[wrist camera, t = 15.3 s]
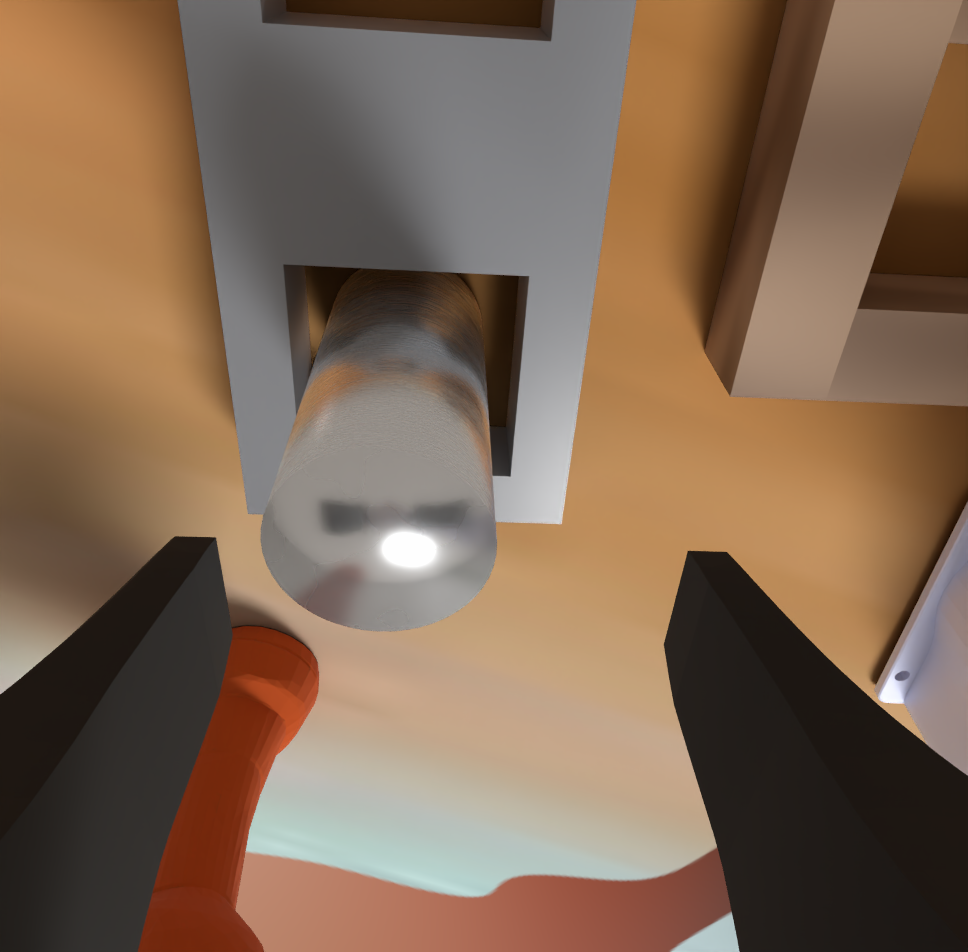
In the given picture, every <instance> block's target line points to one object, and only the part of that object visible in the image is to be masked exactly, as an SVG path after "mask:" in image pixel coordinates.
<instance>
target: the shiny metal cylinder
mask: <svg viewBox="0 0 968 952" xmlns="http://www.w3.org/2000/svg"><path fill="white" fill-rule="evenodd" d="M261 546H262V552H263V555H264V558H265V561H266V564H267V566H268V568H269V570H270V572H271V574H272V576H273V577H274V579H275V580H276V582H277V583H278V584H279V586H280V587H281V588H282V589H283V590H284V591H285V592H286V593H287V594H288V595H289V596H290V597H291V598H292V599H293V600H294V601H296V602H297V603H298V604H299V605H301V606H302V607H304V608H305V609H307V610H308V611H310V612H312V613H314V614H316V615H317V616H319V617H321V618H323V619H326V620H328V621H331V622H333V623H336V624H340V625H343V626H347V627H350V628H356V629H361V630H369V631H400V630H408V629H413V628H419V627H422V626H426V625H429V624H432V623H435V622H437V621H440V620H442V619H444V618H446V617H448V616H450V615H452V614H454V613H455V612H457V611H458V610H460V609H461V608H463V607H464V606H465V605H467V604H468V603H469V602H470V601H471V600H472V599H473V598H474V597H475V596H476V595H477V594H478V593H479V591H480V590H481V589H482V588H483V586H484V585H485V583H486V581H487V580H488V578H489V576H490V574H491V571H492V569H493V566H494V562H495V558H496V550H497V537H496V521H495V506H494V491H493V475H492V460H491V445H490V430H489V414H488V399H487V384H486V368H485V353H484V338H483V324H482V316H481V312H480V308H479V306H478V303H477V301H476V299H475V297H474V295H473V293H472V292H471V290H470V289H469V288H468V286H467V285H466V284H465V282H464V281H463V280H462V279H461V278H460V277H459V276H458V275H456V274H455V273H452V272H431V271H410V270H389V269H369V268H360V269H359V270H357V271H356V272H355V273H353V274H352V275H351V276H350V277H349V278H348V279H347V280H346V282H345V283H344V284H343V286H342V287H341V289H340V290H339V292H338V294H337V296H336V299H335V301H334V304H333V307H332V310H331V313H330V316H329V319H328V322H327V325H326V328H325V331H324V334H323V337H322V340H321V343H320V346H319V349H318V352H317V355H316V358H315V361H314V364H313V367H312V370H311V373H310V376H309V379H308V382H307V385H306V389H305V392H304V395H303V398H302V401H301V404H300V407H299V410H298V413H297V416H296V419H295V422H294V425H293V428H292V431H291V434H290V437H289V440H288V443H287V446H286V449H285V452H284V455H283V458H282V461H281V464H280V467H279V470H278V473H277V476H276V479H275V482H274V485H273V488H272V491H271V494H270V497H269V500H268V503H267V506H266V509H265V512H264V515H263V520H262V525H261Z"/></svg>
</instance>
